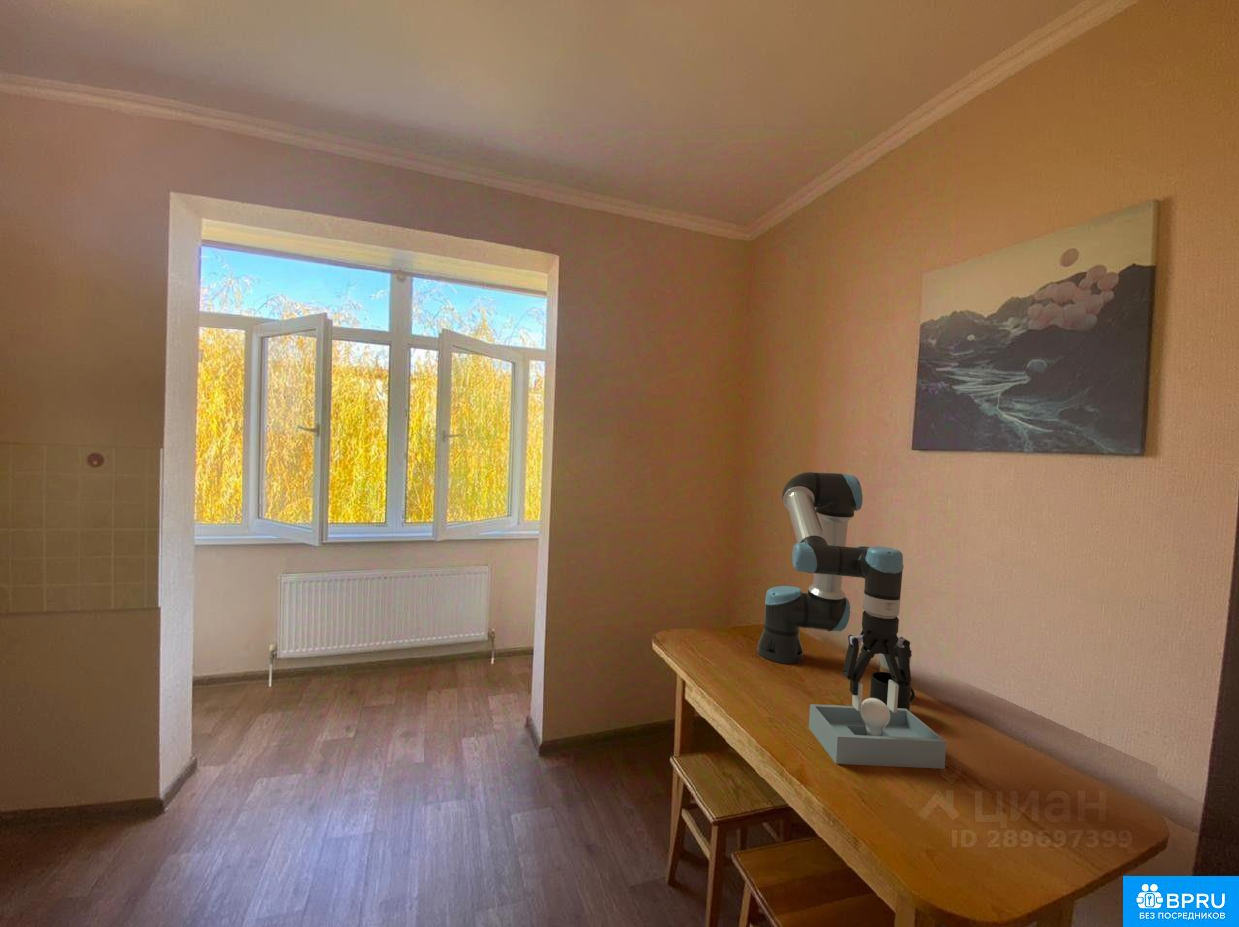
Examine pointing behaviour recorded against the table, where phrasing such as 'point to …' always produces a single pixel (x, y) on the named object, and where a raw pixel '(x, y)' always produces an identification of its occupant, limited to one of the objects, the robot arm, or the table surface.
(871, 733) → the lightbulb
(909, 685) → the mug
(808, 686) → the table surface
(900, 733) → the socket box
